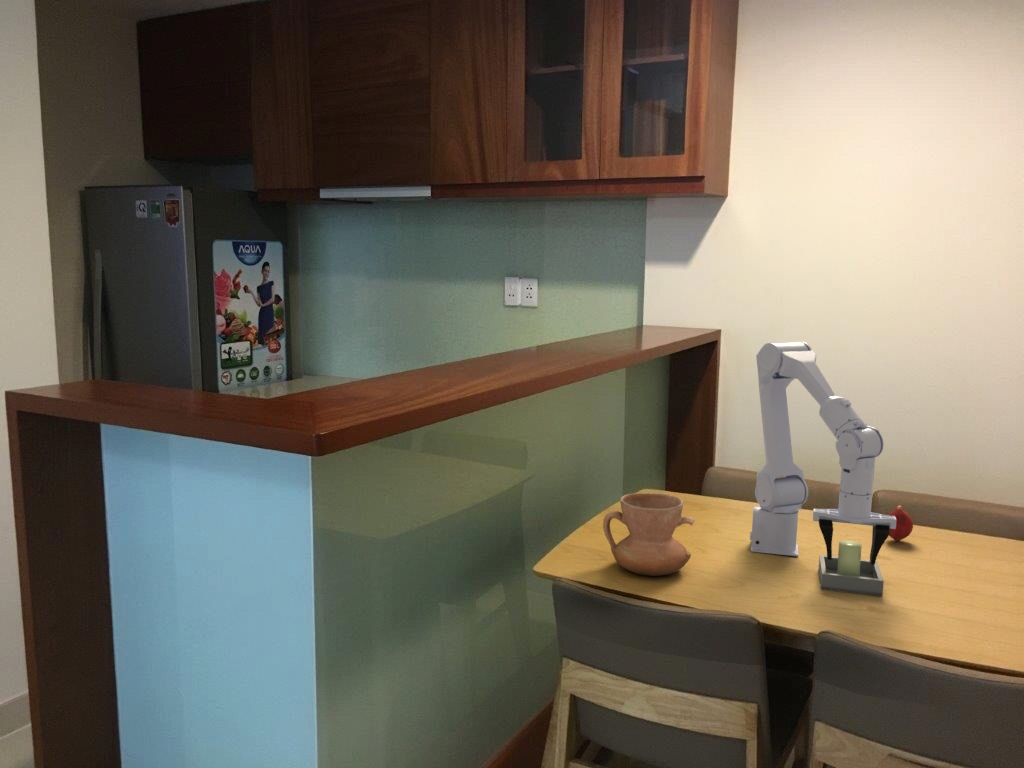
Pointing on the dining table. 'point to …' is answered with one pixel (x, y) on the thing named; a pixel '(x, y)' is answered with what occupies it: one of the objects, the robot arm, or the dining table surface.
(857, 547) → the pale green cylinder
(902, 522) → the onion
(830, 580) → the tray
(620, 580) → the dining table surface
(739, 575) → the dining table surface
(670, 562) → the ceramic jug
